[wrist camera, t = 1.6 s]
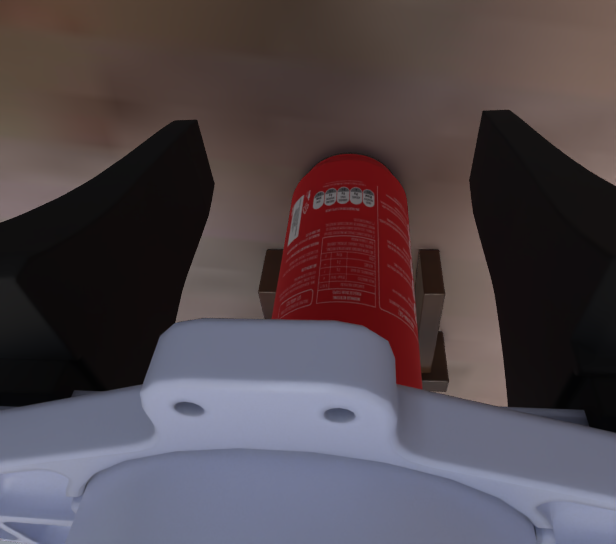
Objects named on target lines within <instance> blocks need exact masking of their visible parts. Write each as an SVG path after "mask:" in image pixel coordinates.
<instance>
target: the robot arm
mask: <svg viewBox="0 0 616 544" xmlns="http://www.w3.org/2000/svg"><path fill="white" fill-rule="evenodd" d="M469 182H470V191H471V200H472V208H473V214H474V218H475V222H476V225H477V229H478V233H479V237H480V240H481V244H482V247H483V251H484V254H485V258H486V262H487V265H488V269H489V272H490V276H491V280H492V284H493V289H494V293H495V300H496V306H497V313H498V320H499V327H500V335H501V343H502V351H503V359H504V369H505V379H506V388H507V399H508V407H498V406H493V405H489V404H484V403H480V402H475V401H471V400H467V399H462V398H458V397H453V396H449V395H444V394H440V393H435V392H431V391H426V390H422V389H417V388H413V387H408V386H404V385H399V384H396V369H395V357H394V354H393V352H392V349H391V347H390V344H389V342H388V341H387V340H386V339H384V338H382V337H381V336H379V335H378V334H376V333H374V332H373V331H371V330H369V329H368V328H366V327H365V326H363V325H358V324H352V323H346V322H341V321H335V320H286V319H233V318H201V319H195V320H188V321H182V322H178V323H175V321H176V316H177V312H178V307H179V303H180V299H181V294H182V290H183V287H184V284H185V280H186V277H187V274H188V271H189V269H190V266H191V263H192V260H193V258H194V255H195V252H196V249H197V247H198V244H199V241H200V238H201V236H202V233H203V230H204V227H205V224H206V221H207V219H208V216H209V211H210V207H211V202H212V196H213V191H214V185H215V183H214V180H213V176H212V173H211V169H210V165H209V162H208V158H207V154H206V151H205V147H204V143H203V140H202V136H201V132H200V129H199V125H198V121H197V120H177V121H173V122H171V123H170V124H168V125H167V126H165V127H164V128H162V129H161V130H159V131H158V132H157V133H155V134H154V135H153V136H151V137H150V138H149V139H147V140H146V141H145V142H143V143H142V144H141V145H139V146H138V147H137V148H135V149H134V150H133V151H132V152H130V153H129V154H128V155H126V156H125V157H123V158H122V159H121V160H119V161H118V162H116V163H115V164H113V165H112V166H110V167H109V168H107V169H106V170H105V171H103V172H102V173H100V174H99V175H97V176H96V177H94V178H93V179H91V180H89V181H88V182H86V183H84V184H83V185H81V186H79V187H77V188H76V189H74V190H72V191H70V192H68V193H67V194H65V195H63V196H61V197H59V198H57V199H55V200H53V201H51V202H48V203H46V204H44V205H42V206H40V207H37V208H35V209H33V210H31V211H29V212H27V213H24V214H22V215H19V216H17V217H14V218H12V219H9V220H7V221H4V222H1V223H0V540H3V541H10V542H15V543H21V544H616V186H615V185H613V184H611V183H609V182H607V181H605V180H604V179H602V178H600V177H598V176H597V175H595V174H593V173H592V172H590V171H589V170H587V169H586V168H584V167H583V166H581V165H580V164H578V163H577V162H575V161H574V160H572V159H571V158H570V157H568V156H567V155H565V154H564V153H563V152H561V151H560V150H559V149H557V148H556V147H555V146H553V145H552V144H551V143H550V142H548V141H547V140H546V139H545V138H543V137H542V136H541V135H540V134H539V133H537V132H536V131H535V130H534V129H533V128H531V127H530V126H529V125H528V124H527V123H525V122H524V121H523V120H522V119H520V118H519V117H518V116H517V115H515V114H514V113H513V112H511V111H510V110H490V111H483V112H482V117H481V122H480V127H479V133H478V138H477V143H476V148H475V153H474V158H473V164H472V169H471V174H470V179H469Z"/></svg>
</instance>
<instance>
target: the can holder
mask: <svg viewBox="0 0 616 544" xmlns="http://www.w3.org/2000/svg"><path fill="white" fill-rule="evenodd" d="M282 255H283V250H267V251H266V256H265V261H264V266H263V271H262V276H261V281H260V285H259V290H258V293H259V298H260V302H261V306H262V310H263V314H264V318H265V319H272V313H273V307H274V301H275V296H276V290H277V284H278V278H279V273H280V267H281V261H282ZM444 298H445V289H444V282H443V275H442V268H441V261H440V253H439V250H420V251H419V258H418V267H417V275H416V284H415V303H416V316H417V328H418V340H419V352H420V365H421V377H422V389H423V390H426V391H437V392H446V391H447V387H448V383H449V377H448V369H447V361H446V353H445V345H444V337H443V333H442V332H438V330H439V324H440V319H441V314H442V308H443V303H444Z"/></svg>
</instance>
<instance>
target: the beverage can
mask: <svg viewBox="0 0 616 544" xmlns="http://www.w3.org/2000/svg"><path fill="white" fill-rule="evenodd" d="M272 319H286V320H335V321H341V322H346V323H352V324H358V325H363V326H365V327H366V328H368V329H369V330H371V331H373V332H374V333H376V334H378V335H379V336H381V337H382V338H384V339H386V340H387V341H388V342H389V344H390V347H391V349H392V352H393V354H394V357H395V369H396V384H399V385H404V386H408V387H413V388H417V389H422V377H421V365H420V352H419V340H418V328H417V316H416V303H415V291H414V279H413V267H412V255H411V242H410V230H409V218H408V206H407V198H406V194H405V191H404V189H403V187H402V186H401V184H400V183H399V181H398V180H397V179H396V178H395V177H394V176H393V174H392V173H391V171H390V170H389V169H388V168H387V167H386V166H385V165H384V164H383V163H381V162H380V161H378V160H377V159H375V158H373V157H370V156H367V155H364V154H359V153H341V154H336V155H333V156H330V157H327V158H325V159H323V160H321V161H320V162H318V163H317V164H316V165H315V166H314V167H313V168H312V169H311V170H310V171H309V173H308V174H306V175H305V176H304V177H303V178H302V180H301V181H300V182H299V183H298V185H297V187H296V189H295V191H294V194H293V198H292V203H291V209H290V215H289V221H288V226H287V232H286V238H285V244H284V249H283V255H282V261H281V267H280V273H279V278H278V284H277V290H276V296H275V301H274V307H273V313H272ZM422 390H423V389H422Z"/></svg>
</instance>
